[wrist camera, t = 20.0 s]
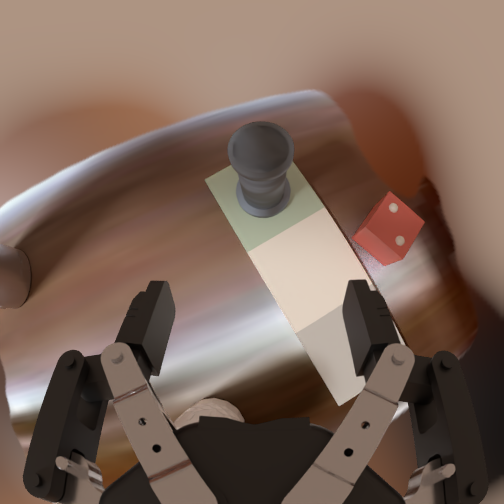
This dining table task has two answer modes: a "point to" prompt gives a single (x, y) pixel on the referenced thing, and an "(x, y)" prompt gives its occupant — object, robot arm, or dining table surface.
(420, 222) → the red die
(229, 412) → the white cup
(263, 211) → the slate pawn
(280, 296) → the game track
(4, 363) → the dining table surface
